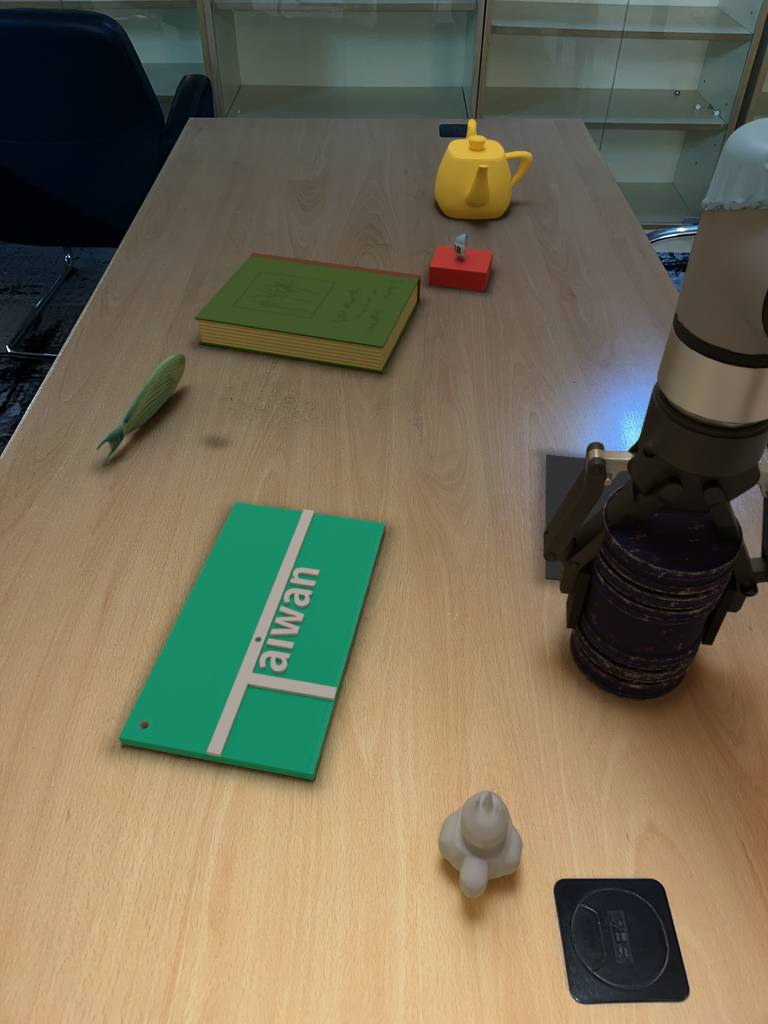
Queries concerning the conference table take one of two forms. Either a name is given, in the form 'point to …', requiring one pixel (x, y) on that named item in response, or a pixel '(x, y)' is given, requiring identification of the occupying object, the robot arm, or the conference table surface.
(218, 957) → the conference table surface
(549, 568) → the mat
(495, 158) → the teapot
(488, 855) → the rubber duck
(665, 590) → the rusty barrel
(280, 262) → the book
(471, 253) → the red rectangular block
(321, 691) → the sign
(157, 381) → the decorative fish
